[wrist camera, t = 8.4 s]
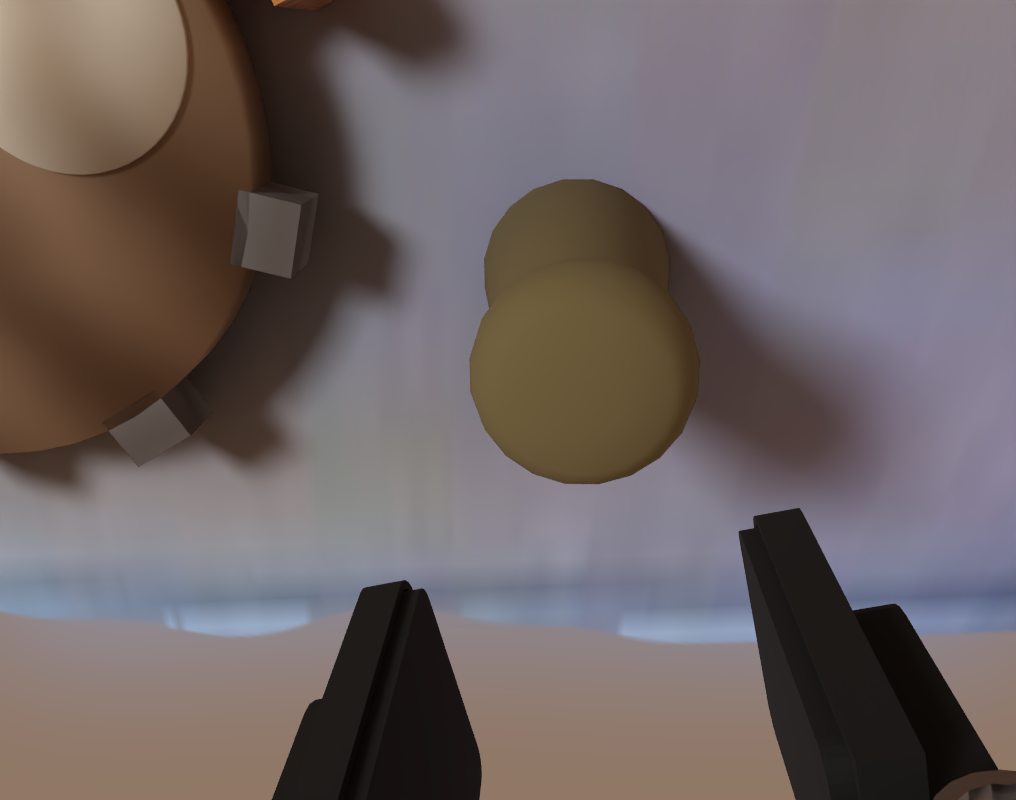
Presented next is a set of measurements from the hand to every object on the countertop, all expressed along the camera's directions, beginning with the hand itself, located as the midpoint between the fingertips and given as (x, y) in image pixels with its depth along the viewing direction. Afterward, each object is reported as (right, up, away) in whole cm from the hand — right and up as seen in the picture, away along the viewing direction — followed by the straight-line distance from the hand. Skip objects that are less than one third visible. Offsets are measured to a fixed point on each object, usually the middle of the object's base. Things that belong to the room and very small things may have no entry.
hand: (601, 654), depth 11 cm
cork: (+1, +7, +18) cm, 19 cm away
